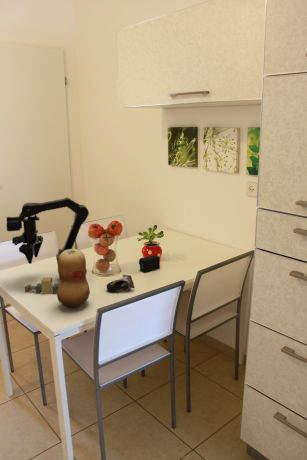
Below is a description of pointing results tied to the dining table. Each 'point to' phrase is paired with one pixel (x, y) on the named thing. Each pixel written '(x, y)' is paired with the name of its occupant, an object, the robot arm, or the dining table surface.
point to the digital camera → (149, 263)
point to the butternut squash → (72, 278)
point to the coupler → (47, 285)
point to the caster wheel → (121, 284)
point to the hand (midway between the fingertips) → (33, 260)
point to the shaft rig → (40, 288)
